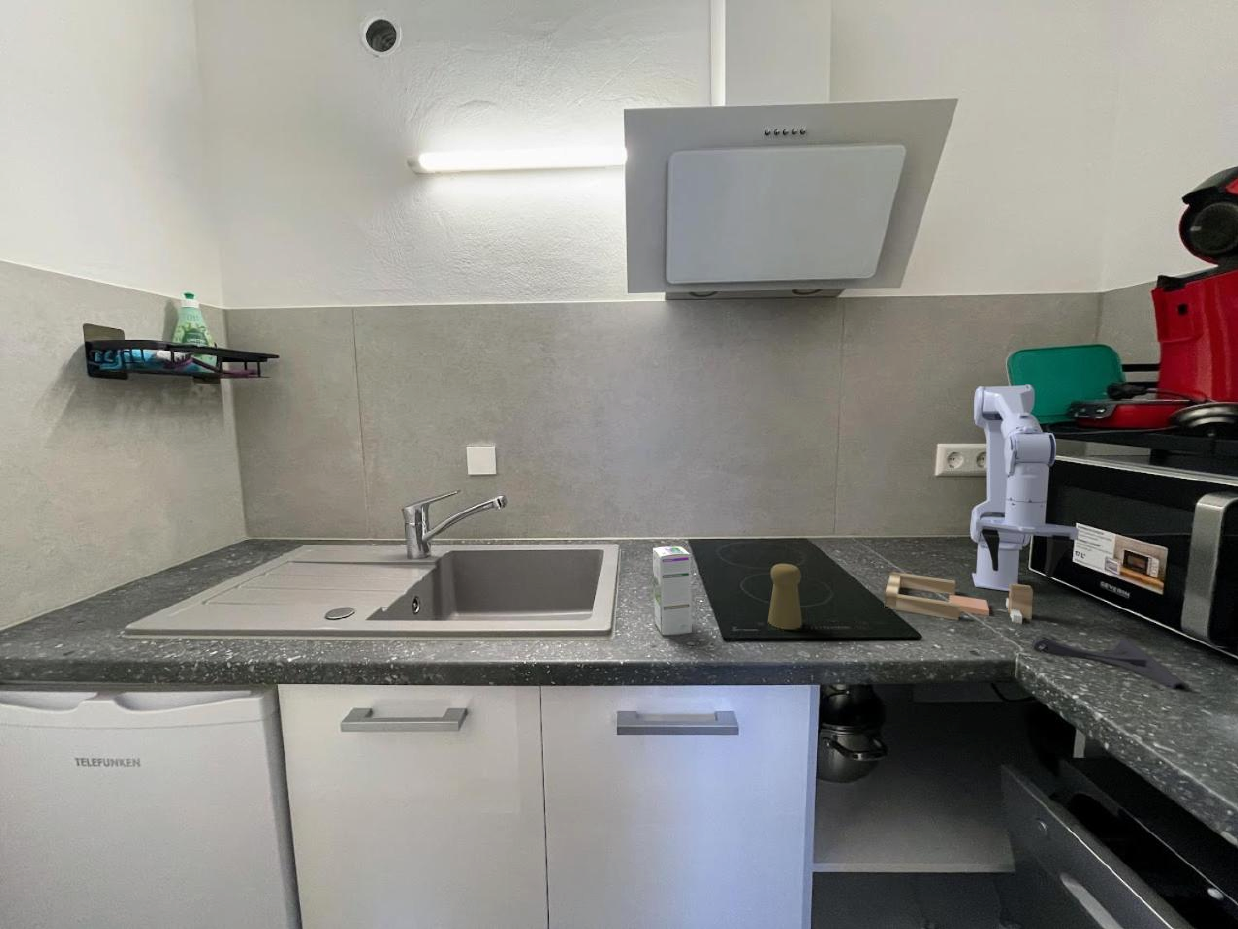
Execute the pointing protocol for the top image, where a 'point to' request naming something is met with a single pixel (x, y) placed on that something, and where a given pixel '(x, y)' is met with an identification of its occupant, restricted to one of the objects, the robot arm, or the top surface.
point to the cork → (785, 597)
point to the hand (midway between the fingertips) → (1021, 572)
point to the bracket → (1117, 659)
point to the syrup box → (672, 590)
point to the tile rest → (921, 604)
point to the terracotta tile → (971, 604)
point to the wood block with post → (1019, 602)
